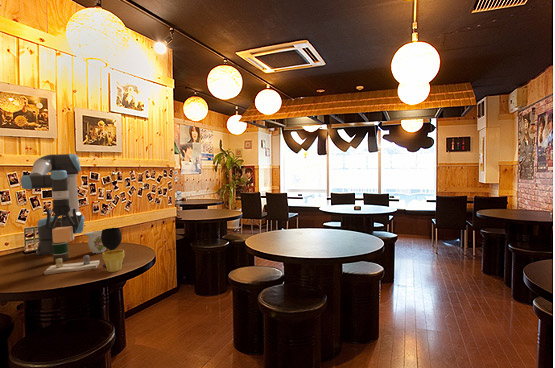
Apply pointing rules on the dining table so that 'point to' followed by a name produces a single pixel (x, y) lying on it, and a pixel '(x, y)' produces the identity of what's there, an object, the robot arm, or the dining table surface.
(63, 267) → the post board
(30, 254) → the dining table surface
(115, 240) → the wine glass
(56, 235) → the tan block
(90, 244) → the pitcher
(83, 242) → the dining table surface
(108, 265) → the plant pot
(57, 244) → the beer bottle
